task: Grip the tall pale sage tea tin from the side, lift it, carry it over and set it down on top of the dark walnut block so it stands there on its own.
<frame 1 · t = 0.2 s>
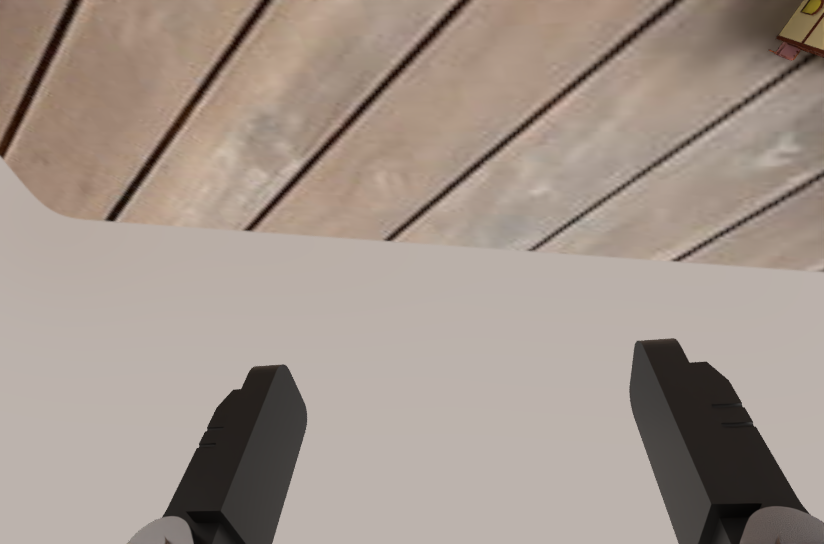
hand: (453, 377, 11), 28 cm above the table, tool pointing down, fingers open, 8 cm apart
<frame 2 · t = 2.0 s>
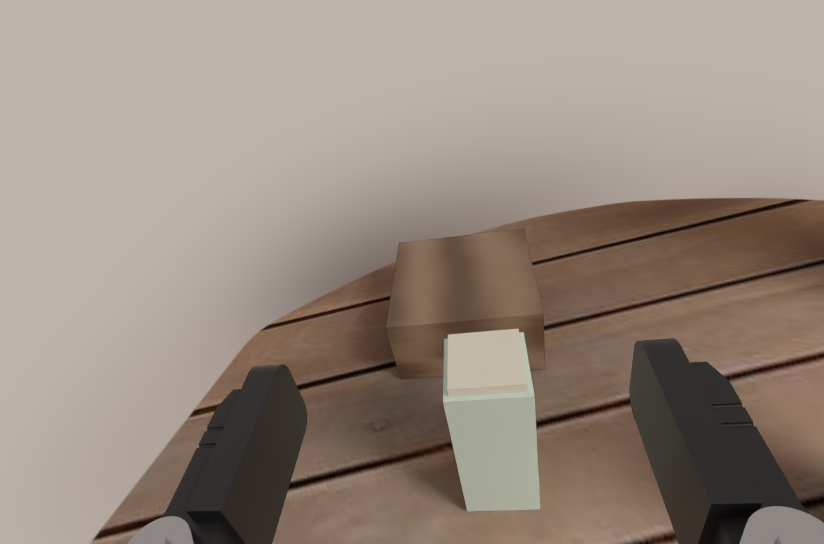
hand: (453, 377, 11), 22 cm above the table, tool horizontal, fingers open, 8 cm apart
sage tin: (500, 476, 33), on the table
walnut block: (468, 324, 45), on the table
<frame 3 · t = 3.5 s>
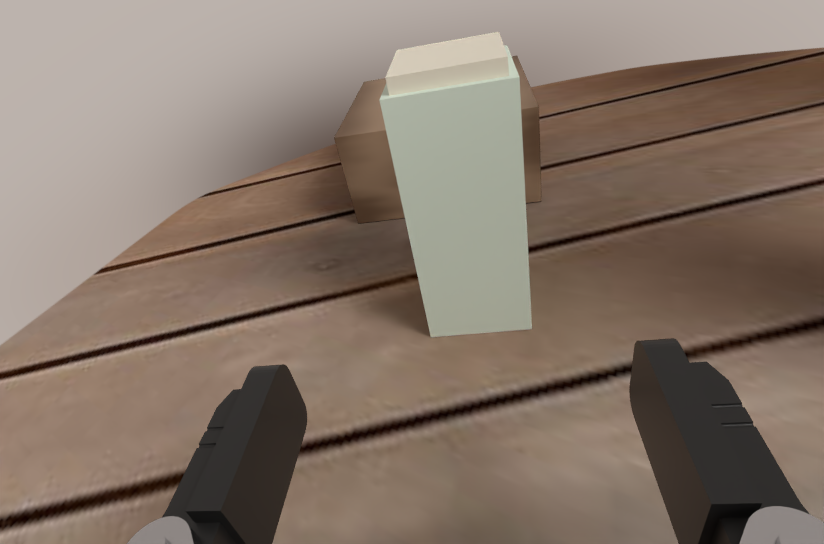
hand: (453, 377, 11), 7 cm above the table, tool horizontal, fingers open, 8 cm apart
sage tin: (478, 300, 24), on the table
walnut block: (448, 172, 36), on the table
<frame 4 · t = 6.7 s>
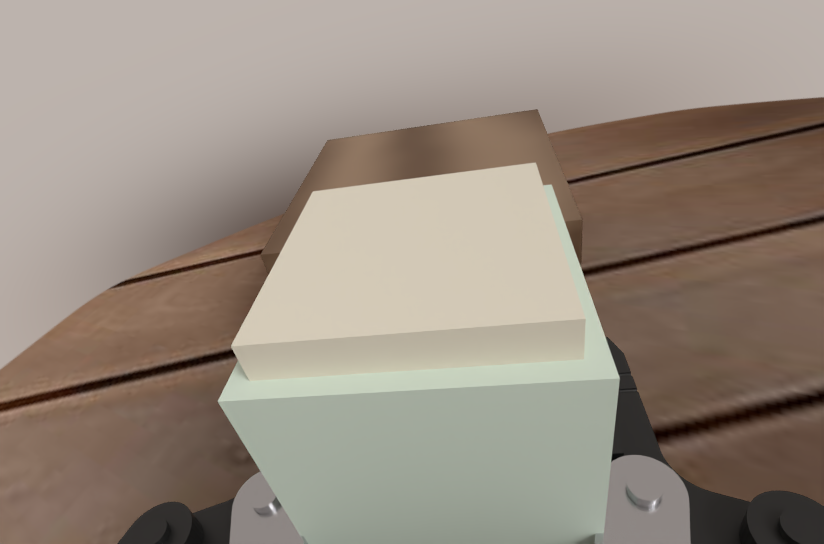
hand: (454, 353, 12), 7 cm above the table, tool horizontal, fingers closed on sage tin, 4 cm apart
walnut block: (440, 272, 26), on the table
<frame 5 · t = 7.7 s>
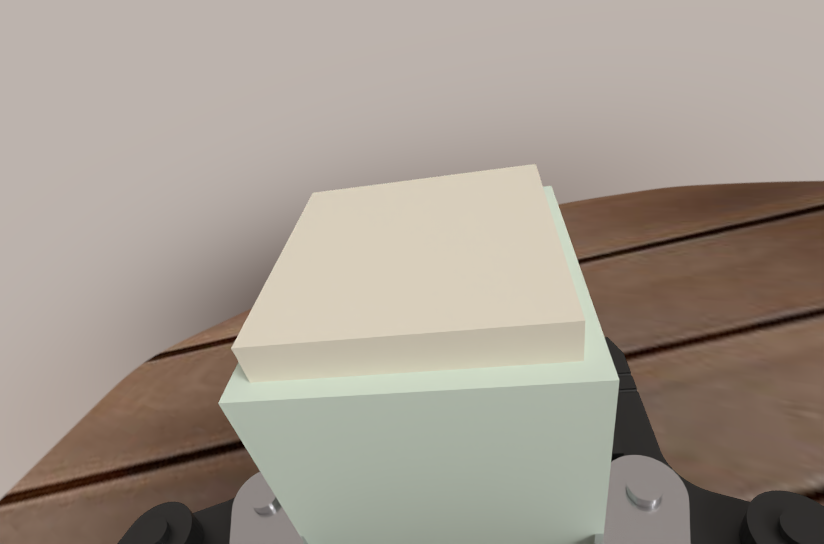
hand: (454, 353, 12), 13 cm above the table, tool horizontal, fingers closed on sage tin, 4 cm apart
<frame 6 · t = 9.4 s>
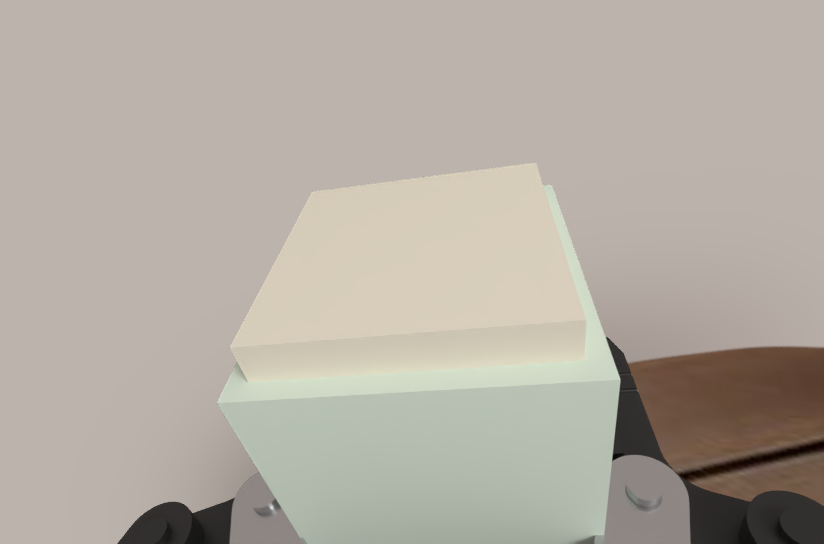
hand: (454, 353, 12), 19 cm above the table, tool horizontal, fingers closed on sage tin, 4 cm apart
when the fingers open (13 cm above the table, at t = 11.4 s): sage tin stays where it is, resting on walnut block.
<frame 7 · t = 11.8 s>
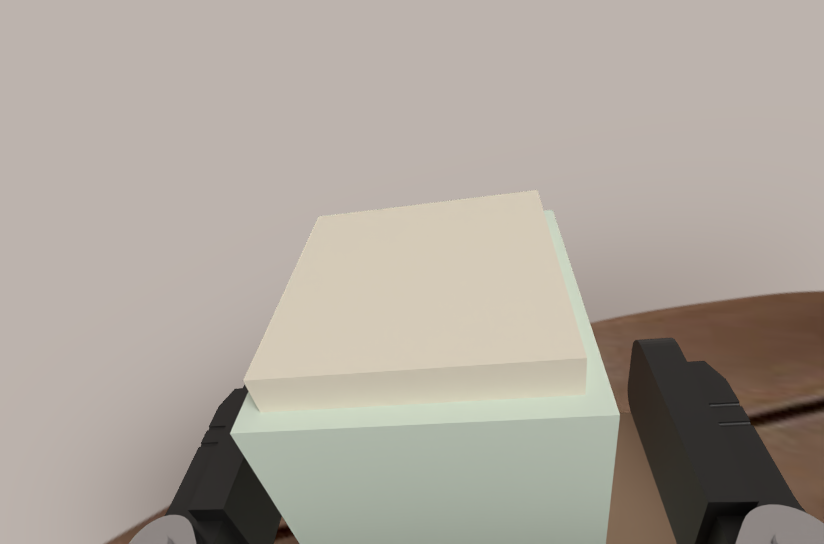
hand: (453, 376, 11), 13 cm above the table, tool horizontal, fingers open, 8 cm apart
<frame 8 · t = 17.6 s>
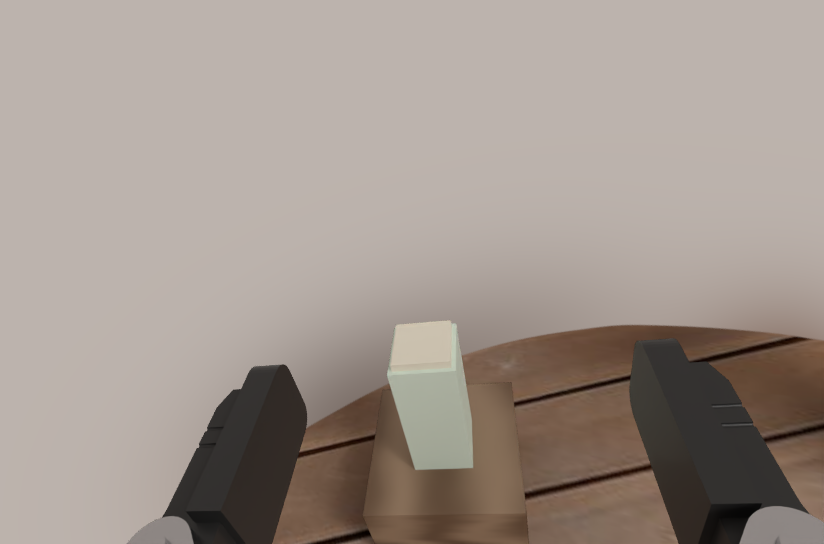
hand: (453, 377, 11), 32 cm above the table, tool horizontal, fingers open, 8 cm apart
sage tin: (444, 443, 40), point 6 cm above the table, touching walnut block
walnut block: (453, 482, 44), on the table
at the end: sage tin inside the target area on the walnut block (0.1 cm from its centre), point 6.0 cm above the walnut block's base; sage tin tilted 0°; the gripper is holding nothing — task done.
